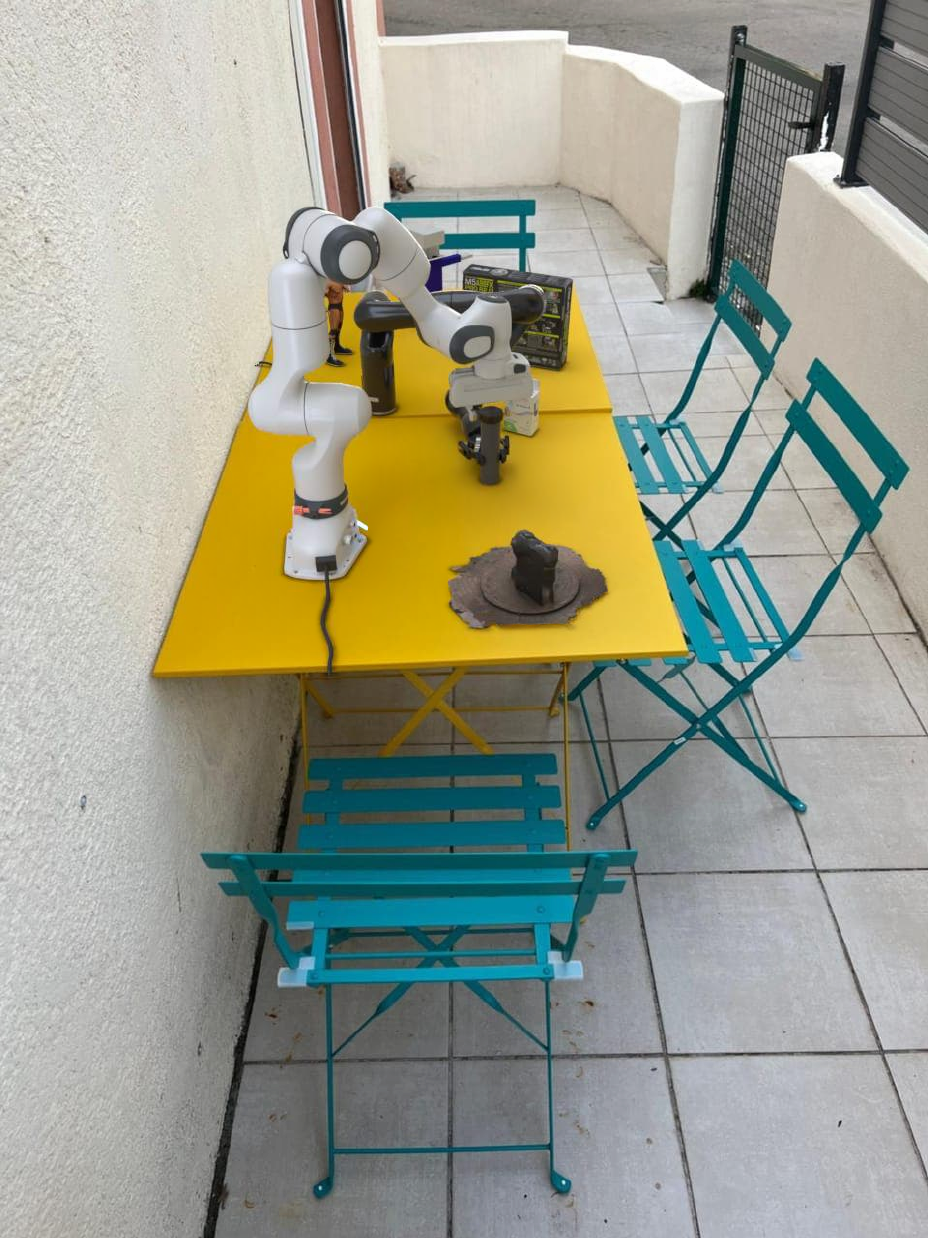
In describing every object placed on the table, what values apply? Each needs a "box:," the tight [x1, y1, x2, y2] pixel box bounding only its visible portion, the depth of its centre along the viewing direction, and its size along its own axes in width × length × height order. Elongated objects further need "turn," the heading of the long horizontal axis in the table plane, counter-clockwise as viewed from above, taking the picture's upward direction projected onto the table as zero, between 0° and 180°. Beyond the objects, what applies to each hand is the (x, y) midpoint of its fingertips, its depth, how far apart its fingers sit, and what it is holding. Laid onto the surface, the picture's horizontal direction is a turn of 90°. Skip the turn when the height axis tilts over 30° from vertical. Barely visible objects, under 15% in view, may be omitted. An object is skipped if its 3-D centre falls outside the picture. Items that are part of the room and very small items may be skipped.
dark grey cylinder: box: [480, 421, 502, 486], centre depth 221 cm, size 5×5×19 cm
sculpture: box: [447, 529, 609, 629], centre depth 188 cm, size 33×35×16 cm
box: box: [462, 263, 574, 371], centre depth 275 cm, size 34×7×27 cm, turn 68°
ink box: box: [503, 378, 541, 437], centre depth 242 cm, size 9×5×15 cm, turn 62°
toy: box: [408, 223, 474, 293], centre depth 298 cm, size 35×10×30 cm, turn 130°
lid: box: [479, 405, 504, 424], centre depth 215 cm, size 6×6×2 cm
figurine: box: [325, 279, 353, 367], centre depth 275 cm, size 24×6×30 cm, turn 168°
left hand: (490, 417), depth 216 cm, fingers open, 8 cm apart
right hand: (492, 461), depth 221 cm, fingers closed on dark grey cylinder, 5 cm apart
